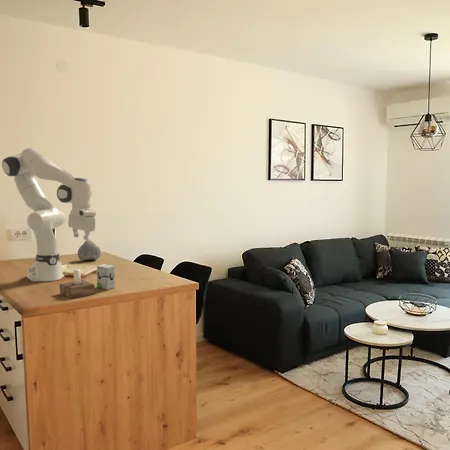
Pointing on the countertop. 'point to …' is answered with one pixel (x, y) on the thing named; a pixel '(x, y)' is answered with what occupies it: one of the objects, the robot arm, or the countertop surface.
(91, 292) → the bore block
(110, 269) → the ink box
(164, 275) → the countertop surface
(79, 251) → the decorative stone
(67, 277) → the countertop surface
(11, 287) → the countertop surface
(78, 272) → the pin
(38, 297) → the countertop surface
